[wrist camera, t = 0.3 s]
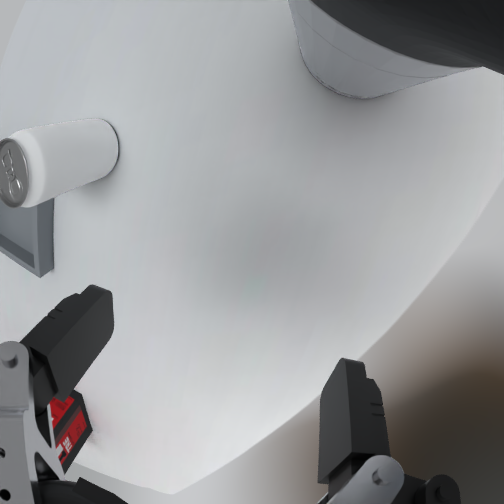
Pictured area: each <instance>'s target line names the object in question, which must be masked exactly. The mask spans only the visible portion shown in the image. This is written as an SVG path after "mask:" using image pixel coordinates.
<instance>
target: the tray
mask: <svg viewBox="0 0 504 504" xmlns="http://www.w3.org/2000/svg"><path fill="white" fill-rule="evenodd" d="M53 209H54V198H51V199H49V200H47V201H45V202H42V203H40V204H38V205H35V206H32V207H19V208H17V209H11V208H9V207H7V206H6V205H4V204H3V202H2V201H1V200H0V251H1V252H2V253H3V254H5V255H6V256H8V257H9V258H11V259H12V260H14V261H15V262H16V263H18V264H19V265H21V266H22V267H24V268H25V269H27V270H28V271H30V272H32V273H33V274H35V275H36V276H38V277H39V278H41V277H42V276H44V275H45V274H46V273H48V272H49V271H50V270H52V269H53V268H54V258H53Z"/></svg>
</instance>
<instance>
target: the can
mask: <svg viewBox="0 0 504 504" xmlns="http://www.w3.org/2000/svg"><path fill="white" fill-rule="evenodd" d="M117 157H118V140H117V137H116V134H115V132H114V130H113V128H112V127H111V126H110V125H109V124H108V123H107V122H106V121H104V120H101V119H84V120H75V121H68V122H61V123H55V124H48V125H43V126H37V127H32V128H27V129H23V130H19V131H17V132H15V133H13V134H12V135H11V136H10V137H9V138H6V139H3V140H1V141H0V200H1V201H2V202H3V204H4V205H6V206H7V207H9V208H11V209H17V208H19V207H32V206H35V205H38V204H40V203H42V202H45V201H47V200H49V199H51V198H54V197H56V196H58V195H61V194H63V193H66V192H68V191H70V190H73V189H75V188H78V187H80V186H83V185H85V184H88V183H90V182H93V181H95V180H98V179H100V178H102V177H104V176H106V175H107V174H108V173H109V172H110V171H111V170H112V169H113V167H114V166H115V163H116V161H117Z"/></svg>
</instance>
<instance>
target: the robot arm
mask: <svg viewBox="0 0 504 504" xmlns="http://www.w3.org/2000/svg"><path fill="white" fill-rule="evenodd" d="M288 2H289V5H290V9H291V13H292V17H293V21H294V25H295V29H296V33H297V37H298V42H299V46H300V50H301V54H302V57H303V59H304V62H305V64H306V66H307V67H308V69H309V71H310V72H311V74H312V75H313V76H314V77H315V78H316V79H317V80H318V81H319V82H320V83H322V84H323V85H324V86H326V87H327V88H328V89H330V90H332V91H334V92H336V93H338V94H341V95H344V96H347V97H350V98H360V99H365V98H375V97H378V96H381V95H385V94H388V93H391V92H394V91H398V90H401V89H404V88H407V87H410V86H413V85H417V84H420V83H423V82H427V81H430V80H434V79H437V78H441V77H444V76H447V75H451V74H455V73H458V72H462V71H466V70H470V69H475V68H479V67H482V66H483V67H486V68H488V69H491V70H493V71H496V72H498V73H501V74H503V75H504V0H288ZM113 330H114V315H113V297H112V293H111V291H109V290H106V289H104V288H101V287H98V286H96V285H89V286H88V287H87V288H86V289H85V290H84V291H83V292H82V293H81V294H80V295H79V294H77V293H75V294H73V295H71V296H69V297H67V298H64V299H63V300H62V301H61V302H60V303H59V304H58V305H57V306H56V307H55V309H52V310H51V311H50V312H49V313H48V315H47V316H45V317H44V318H43V319H42V320H41V321H40V322H39V323H38V324H37V325H36V326H35V327H34V328H33V329H32V330H31V331H30V332H29V333H28V334H27V335H26V336H25V337H24V338H23V339H22V340H21V341H20V342H15V341H8V342H4V343H2V344H0V504H128V503H126V502H125V501H123V500H122V499H121V498H119V497H118V496H116V495H115V494H114V493H111V492H109V491H107V490H105V489H103V488H101V487H99V486H97V485H95V484H92V483H90V482H89V481H87V480H85V479H83V478H81V477H79V479H78V481H77V483H76V482H71V481H66V480H65V476H64V472H63V469H62V466H61V463H60V461H59V458H58V456H57V452H56V447H55V441H54V434H53V426H52V418H51V409H50V404H49V403H50V401H51V400H52V399H53V397H55V398H56V399H58V400H60V401H62V402H63V403H64V402H65V401H66V399H67V398H68V396H69V395H70V393H71V392H72V391H73V389H74V388H75V386H76V385H77V384H78V382H79V381H80V379H81V378H82V377H83V375H84V374H85V372H86V371H87V370H88V368H89V367H90V365H91V364H92V363H93V361H94V360H95V359H96V357H97V356H98V355H99V353H100V352H101V351H102V349H103V348H104V346H105V345H106V344H107V342H108V341H109V340H110V338H111V336H112V333H113ZM382 405H383V402H382V397H381V391H380V389H379V388H378V386H377V384H376V383H375V381H374V380H373V379H369V378H366V371H365V365H364V363H363V362H360V361H355V360H350V359H345V358H341V359H340V360H339V362H338V364H337V365H336V367H335V369H334V371H333V372H332V374H331V376H330V377H329V379H328V381H327V383H326V384H325V386H324V388H323V391H322V394H321V399H320V434H319V465H318V483H321V484H329V489H328V493H326V494H325V495H324V496H323V498H321V499H320V500H319V501H318V502H317V504H461V500H460V492H459V488H458V485H457V483H456V482H455V481H454V480H453V479H452V478H451V477H449V476H447V475H436V476H434V477H433V478H431V479H430V480H428V481H425V480H421V479H418V478H415V477H412V476H409V475H406V474H404V472H403V469H402V467H401V466H400V464H399V463H398V462H397V461H396V460H394V459H393V458H391V455H390V449H389V441H388V434H387V427H386V420H385V417H384V415H385V414H384V408H383V407H382Z"/></svg>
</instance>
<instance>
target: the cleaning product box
mask: <svg viewBox="0 0 504 504" xmlns="http://www.w3.org/2000/svg"><path fill="white" fill-rule="evenodd" d="M49 404H50V409H51V418H52V426H53V434H54V441H55V447H56V452H57V456H58V458H59V461H60V463H61V466H62V469H63V472H64V475H65V473H66V472H67V470H68V468H69V467H70V465H71V464H72V462H73V460H74V459H75V457H76V456H77V454H78V453H79V451H80V449H81V448H82V446H83V445H84V443H85V442H86V440H87V438H88V437H89V435H90V434H91V432H92V431H93V430H92V427H91V424H90V421H89V418H88V414H87V411H86V407H85V404H84V400H83V397H82V394H80V393H79V392H77V391H75V390H74V389H73V391H72V392H71V393H70V395H69V396H68V398H67V399H66V401H65V402H64V403H63V402H62V401H60V400H58V399H56V398H55V397H53V399H52V400H51V401H50V403H49Z"/></svg>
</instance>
